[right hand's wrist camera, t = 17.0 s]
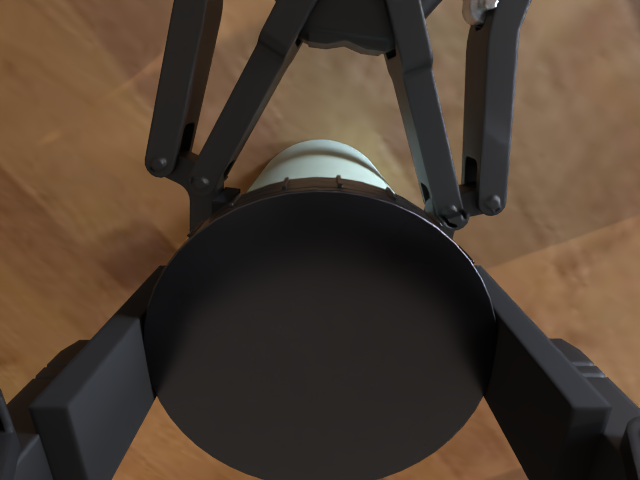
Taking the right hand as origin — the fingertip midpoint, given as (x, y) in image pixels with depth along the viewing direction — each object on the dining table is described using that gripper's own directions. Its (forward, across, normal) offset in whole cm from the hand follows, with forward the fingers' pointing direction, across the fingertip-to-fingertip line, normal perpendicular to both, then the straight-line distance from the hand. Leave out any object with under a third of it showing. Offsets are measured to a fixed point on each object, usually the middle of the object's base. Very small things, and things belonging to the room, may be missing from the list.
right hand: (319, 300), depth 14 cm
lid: (-3, 0, 0) cm, 3 cm away
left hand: (+6, 0, -5) cm, 7 cm away
